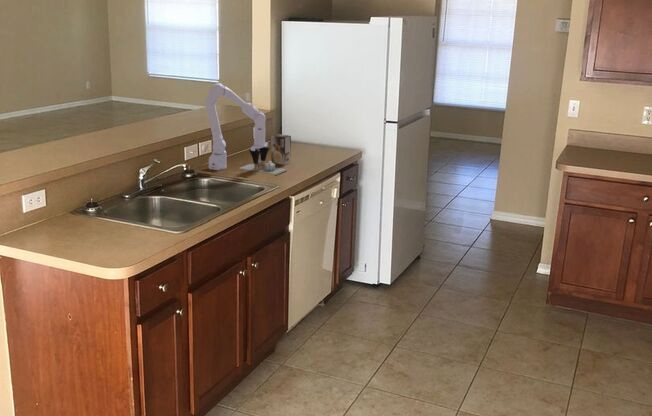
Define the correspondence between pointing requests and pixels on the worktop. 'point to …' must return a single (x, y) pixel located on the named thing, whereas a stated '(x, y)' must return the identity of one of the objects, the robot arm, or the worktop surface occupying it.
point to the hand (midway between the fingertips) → (259, 162)
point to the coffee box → (281, 149)
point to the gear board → (268, 168)
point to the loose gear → (259, 165)
